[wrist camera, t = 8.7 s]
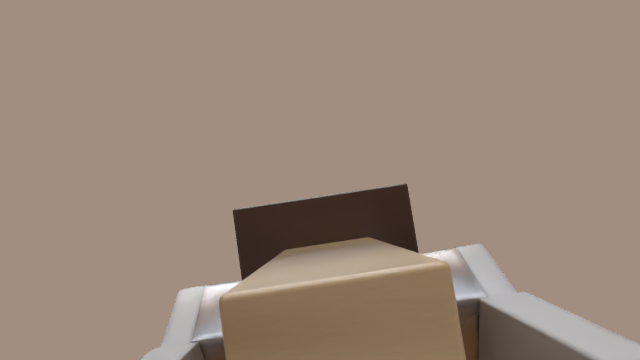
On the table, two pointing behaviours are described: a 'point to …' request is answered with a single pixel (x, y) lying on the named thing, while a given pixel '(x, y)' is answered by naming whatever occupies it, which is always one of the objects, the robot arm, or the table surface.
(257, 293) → the brush
